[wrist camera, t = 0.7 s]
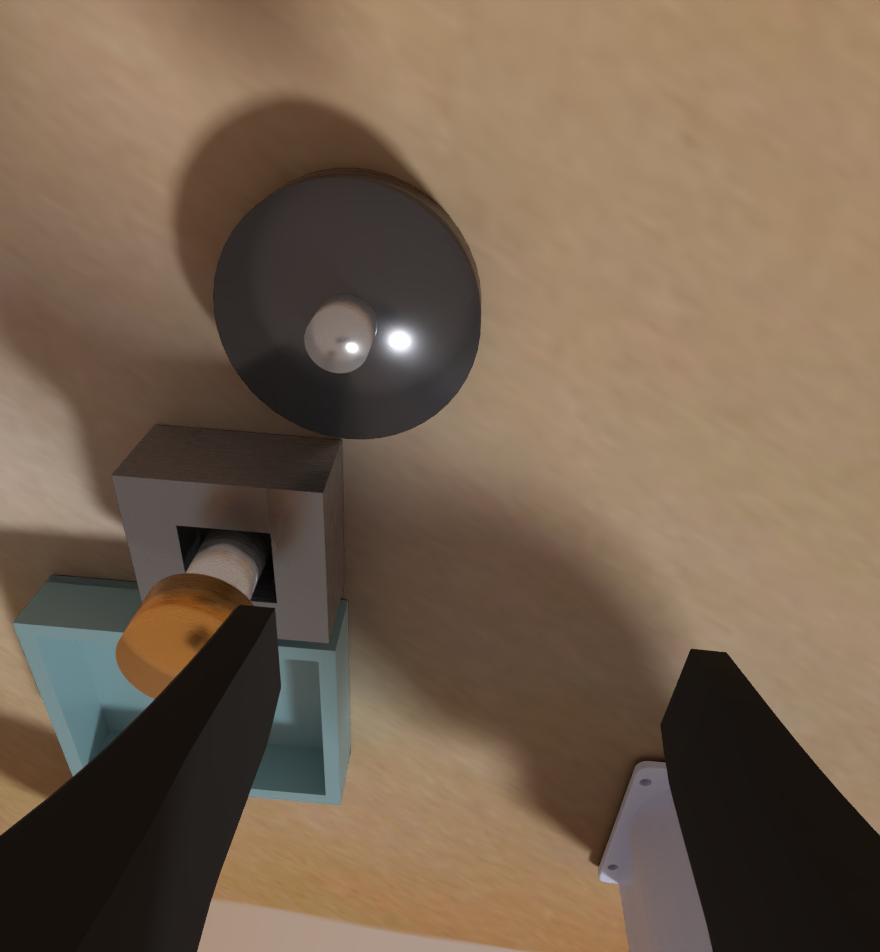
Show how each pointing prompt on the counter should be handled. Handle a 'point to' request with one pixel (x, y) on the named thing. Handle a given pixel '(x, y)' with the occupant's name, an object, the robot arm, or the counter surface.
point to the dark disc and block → (309, 381)
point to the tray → (118, 702)
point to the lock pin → (190, 608)
